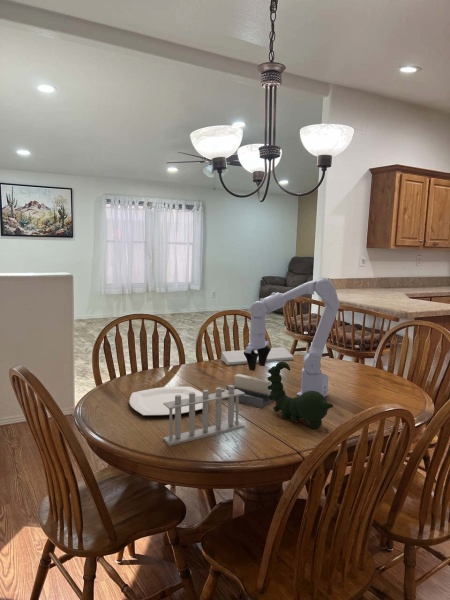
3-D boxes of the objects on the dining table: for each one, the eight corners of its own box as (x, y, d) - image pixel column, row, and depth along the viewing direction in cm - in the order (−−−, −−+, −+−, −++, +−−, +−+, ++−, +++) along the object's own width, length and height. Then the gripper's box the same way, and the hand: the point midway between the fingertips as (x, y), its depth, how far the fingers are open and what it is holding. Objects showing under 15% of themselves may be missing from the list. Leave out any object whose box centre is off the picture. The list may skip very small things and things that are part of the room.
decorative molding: (291, 365, 212) (282, 355, 221) (293, 356, 210) (284, 347, 219) (227, 371, 200) (220, 360, 209) (228, 362, 199) (221, 351, 207)
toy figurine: (262, 418, 143) (324, 437, 123) (260, 361, 142) (322, 372, 122) (282, 411, 149) (343, 429, 129) (280, 357, 148) (341, 367, 128)
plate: (124, 396, 157) (124, 391, 157) (194, 388, 167) (194, 383, 167) (136, 424, 133) (136, 418, 132) (218, 413, 142) (218, 408, 142)
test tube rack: (236, 422, 135) (237, 382, 133) (244, 427, 131) (245, 386, 129) (163, 440, 122) (162, 395, 120) (169, 446, 118) (169, 400, 116)
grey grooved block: (282, 395, 160) (283, 387, 160) (261, 408, 147) (261, 399, 146) (242, 385, 170) (242, 378, 170) (218, 396, 157) (218, 389, 157)
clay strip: (270, 396, 155) (270, 380, 154) (266, 398, 153) (267, 382, 152) (238, 389, 163) (238, 373, 162) (234, 390, 161) (234, 375, 160)
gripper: (258, 328, 170) (257, 362, 172) (238, 334, 158) (238, 370, 160) (274, 331, 166) (273, 365, 168) (255, 337, 154) (254, 373, 156)
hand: (257, 367), depth 163 cm, fingers open, 7 cm apart
